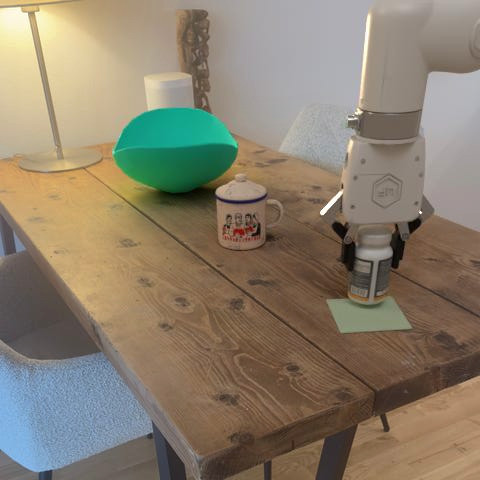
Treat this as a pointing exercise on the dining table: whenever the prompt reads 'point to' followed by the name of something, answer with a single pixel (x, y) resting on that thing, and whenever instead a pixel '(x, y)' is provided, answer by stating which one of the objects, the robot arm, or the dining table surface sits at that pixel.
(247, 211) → the teacup with lid
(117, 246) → the dining table surface
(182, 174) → the table top decor
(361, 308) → the mat
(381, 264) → the pill bottle
